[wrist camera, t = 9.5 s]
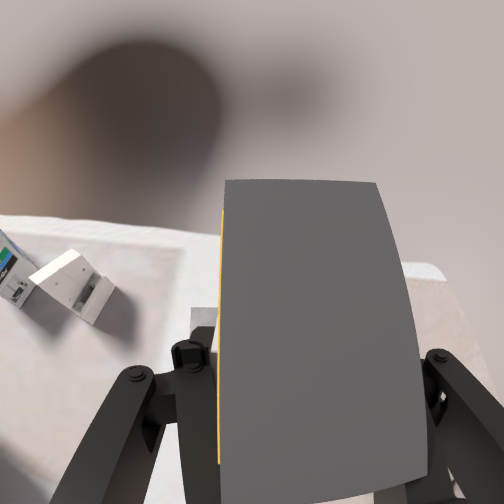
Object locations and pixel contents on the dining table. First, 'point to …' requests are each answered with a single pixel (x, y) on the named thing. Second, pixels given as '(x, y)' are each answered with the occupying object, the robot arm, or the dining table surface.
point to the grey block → (314, 346)
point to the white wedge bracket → (75, 285)
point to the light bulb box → (14, 272)
